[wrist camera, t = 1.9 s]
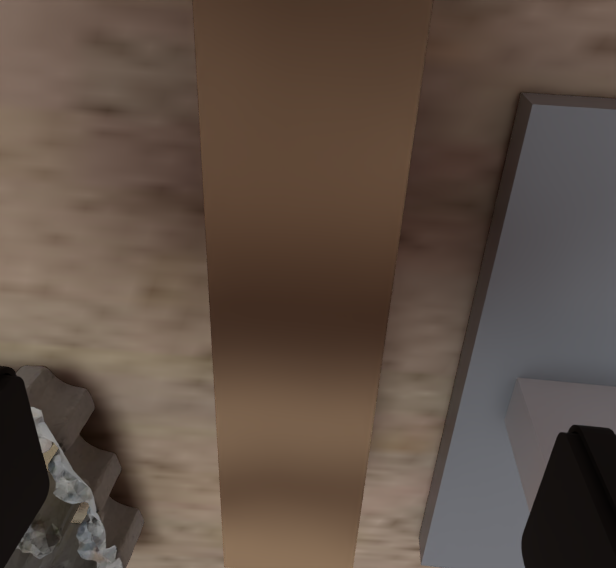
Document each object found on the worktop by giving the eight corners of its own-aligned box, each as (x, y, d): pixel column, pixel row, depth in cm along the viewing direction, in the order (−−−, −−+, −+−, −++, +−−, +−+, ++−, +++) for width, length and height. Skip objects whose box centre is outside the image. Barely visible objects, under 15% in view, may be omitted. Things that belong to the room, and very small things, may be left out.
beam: (245, -230, 12) (173, -327, 8) (440, -224, 12) (479, -320, 7) (253, 446, 22) (224, 566, 18) (355, 458, 22) (350, 582, 18)
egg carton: (-89, 356, 21) (-180, 436, 18) (99, 357, 21) (43, 441, 17) (6, 535, 27) (-48, 624, 23) (159, 542, 26) (126, 635, 22)
